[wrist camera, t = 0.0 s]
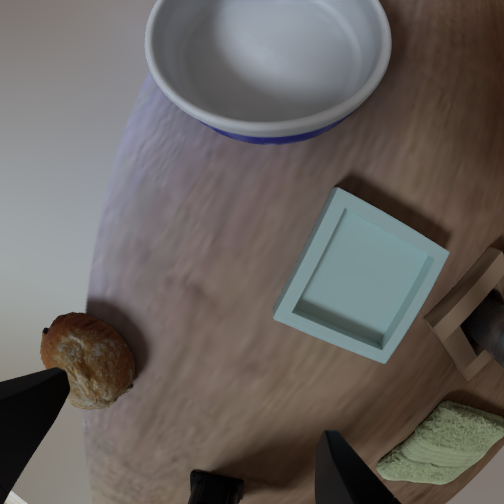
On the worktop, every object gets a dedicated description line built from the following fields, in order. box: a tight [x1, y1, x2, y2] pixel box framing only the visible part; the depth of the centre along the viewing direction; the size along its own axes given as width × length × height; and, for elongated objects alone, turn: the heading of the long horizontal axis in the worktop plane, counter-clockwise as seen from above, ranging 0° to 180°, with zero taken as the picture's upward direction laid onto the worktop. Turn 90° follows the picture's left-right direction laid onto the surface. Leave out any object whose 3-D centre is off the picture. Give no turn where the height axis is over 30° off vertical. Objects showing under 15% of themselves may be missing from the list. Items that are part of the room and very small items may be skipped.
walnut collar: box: [423, 247, 504, 381], centre depth 20 cm, size 9×9×2 cm
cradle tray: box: [273, 187, 450, 364], centre depth 21 cm, size 10×10×2 cm
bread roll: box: [40, 312, 135, 410], centre depth 24 cm, size 10×10×8 cm
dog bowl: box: [145, 0, 392, 145], centre depth 16 cm, size 15×15×6 cm
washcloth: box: [376, 400, 504, 484], centre depth 24 cm, size 13×18×3 cm
